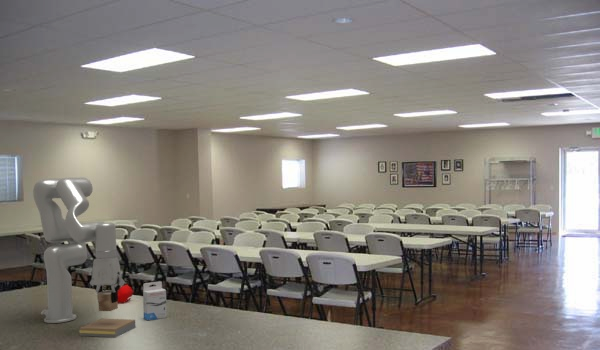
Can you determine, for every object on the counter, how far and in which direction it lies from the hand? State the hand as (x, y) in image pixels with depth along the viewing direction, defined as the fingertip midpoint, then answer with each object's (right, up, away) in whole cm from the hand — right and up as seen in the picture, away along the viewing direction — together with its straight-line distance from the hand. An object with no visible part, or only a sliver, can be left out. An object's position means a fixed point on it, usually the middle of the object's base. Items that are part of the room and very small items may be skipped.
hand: (107, 301), depth 216 cm
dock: (0, -12, 0) cm, 12 cm away
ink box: (+13, -12, +19) cm, 26 cm away
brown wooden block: (0, -3, 0) cm, 3 cm away
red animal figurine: (-11, -13, +53) cm, 56 cm away
